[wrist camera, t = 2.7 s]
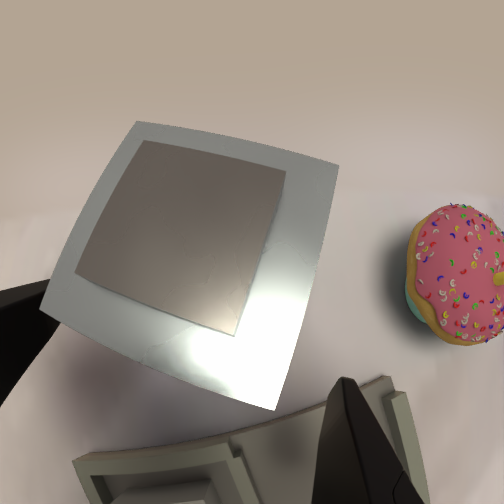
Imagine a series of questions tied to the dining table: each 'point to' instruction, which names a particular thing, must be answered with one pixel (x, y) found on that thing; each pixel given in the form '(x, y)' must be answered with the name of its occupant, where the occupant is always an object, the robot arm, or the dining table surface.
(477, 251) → the cupcake
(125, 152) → the block
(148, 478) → the case
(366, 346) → the dining table surface
